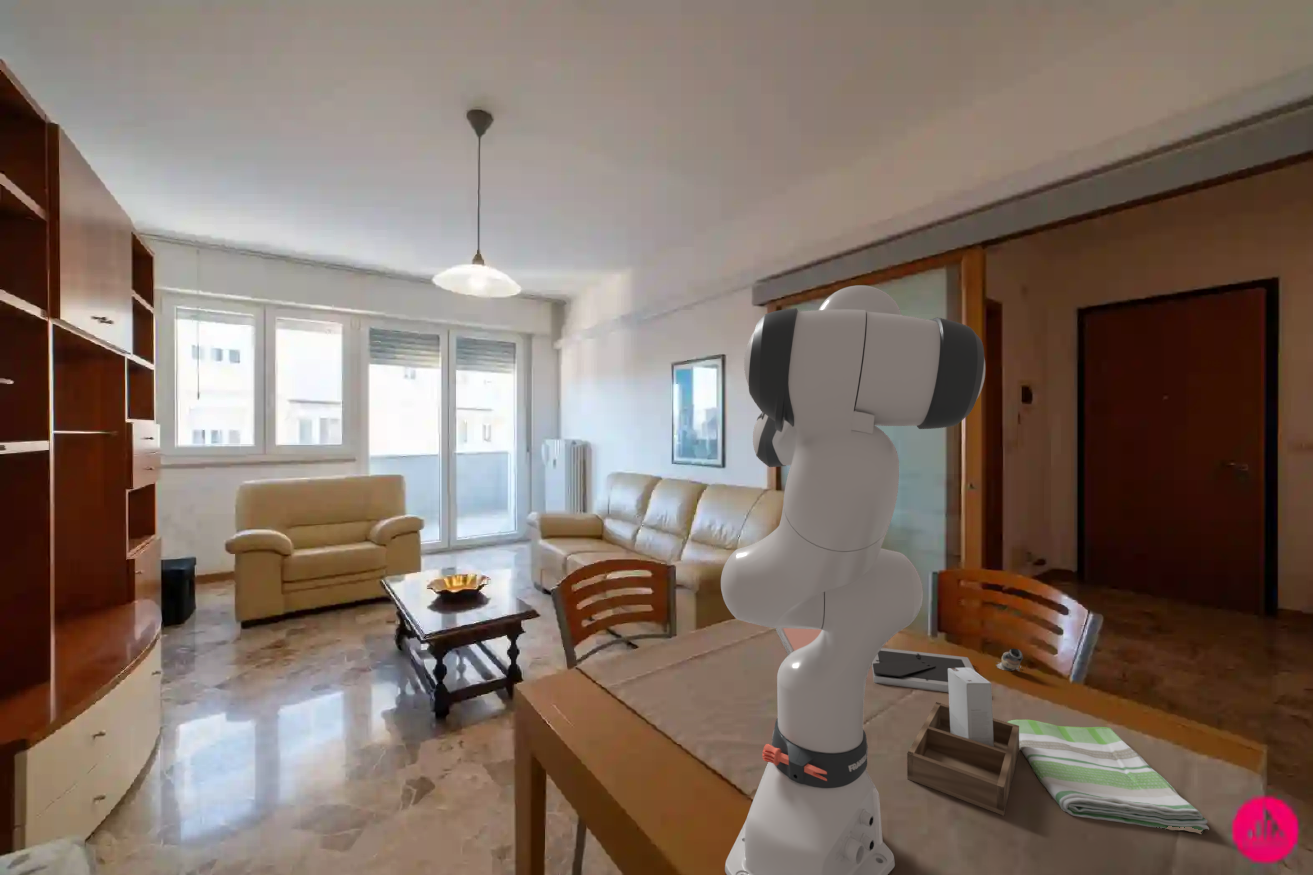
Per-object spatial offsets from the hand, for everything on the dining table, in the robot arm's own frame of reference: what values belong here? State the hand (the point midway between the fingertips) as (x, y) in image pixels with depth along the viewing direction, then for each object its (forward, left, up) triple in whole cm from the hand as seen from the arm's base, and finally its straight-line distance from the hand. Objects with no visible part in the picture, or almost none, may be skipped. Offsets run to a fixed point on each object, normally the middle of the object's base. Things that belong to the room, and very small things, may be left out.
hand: (827, 553), depth 99 cm
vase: (+42, -25, -31) cm, 58 cm away
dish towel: (+10, -38, -32) cm, 51 cm away
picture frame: (+30, -9, -32) cm, 45 cm away
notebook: (+33, +17, -32) cm, 49 cm away
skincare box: (+5, -22, -31) cm, 38 cm away
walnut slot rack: (0, -22, -31) cm, 38 cm away
